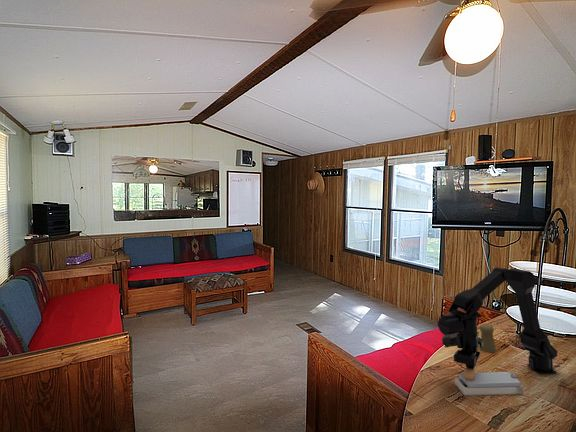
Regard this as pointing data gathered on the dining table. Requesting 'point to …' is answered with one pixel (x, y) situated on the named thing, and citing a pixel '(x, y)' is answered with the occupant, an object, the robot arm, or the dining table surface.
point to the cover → (488, 379)
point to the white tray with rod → (487, 389)
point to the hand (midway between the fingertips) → (470, 372)
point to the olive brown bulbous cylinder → (487, 338)
